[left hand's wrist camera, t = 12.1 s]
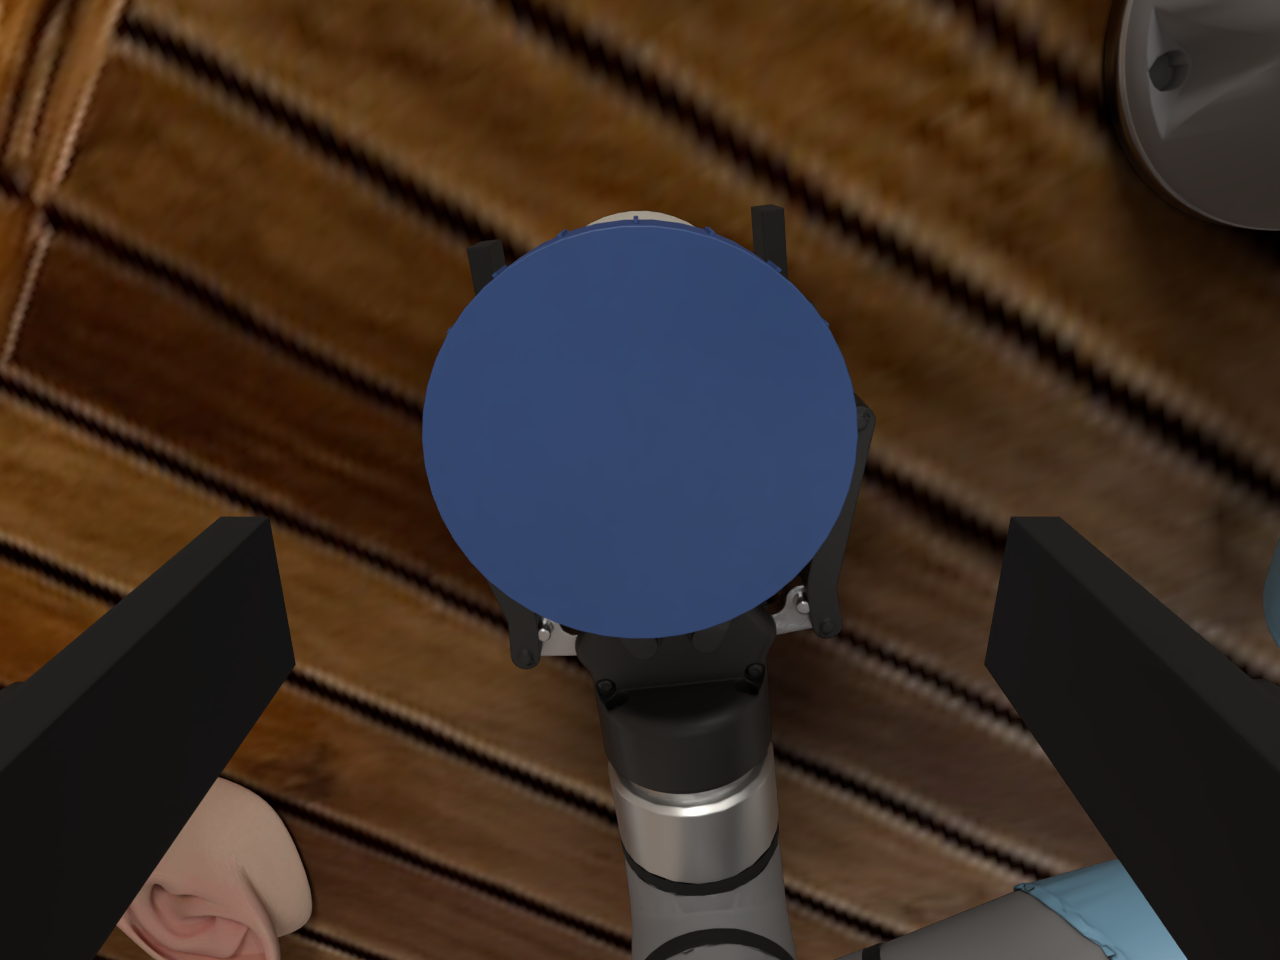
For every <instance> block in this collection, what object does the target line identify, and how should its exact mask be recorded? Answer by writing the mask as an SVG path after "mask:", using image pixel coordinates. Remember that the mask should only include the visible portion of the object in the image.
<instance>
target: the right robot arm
mask: <svg viewBox="0 0 1280 960" xmlns="http://www.w3.org/2000/svg"><path fill="white" fill-rule="evenodd" d="M751 214H752V229H753V243H754V254H755V255H757V256H758V257H760V258H761V259H762V260H764V261H765V262H766V263H767V261H768V260H770V261H771V262H772V263H774V264H775V265H776V266H778V267H779V268H780V269H781V272H780V274H781V275H782V276H783V277H785V278H786V279H787V280H788V275H787V257H786V239H785V221H784V208H782V207H779V206H775V205H772V204H771V205H763V206H755V207H751ZM467 253H468V258H469V264H470V269H471V274H472V279H473V284H474V289H475V295H476V296H477V294H478V293H479V292H480V291H481V290H482V289H483V288H484V287H485V286H486V285H487V284H488V283H489V282H491V281H492V280H493V279H494V277H493V276H492V275H493V274H494V273H495V272H496V271H498V270H499V269H500V268H502V267H503V266H504V265H506V264H505V258H504V253H503V247H502V241H501V239H498V240H490V241H482V242H479V243H477V244H475V245H473V246H471V247H469V248H467ZM805 298H806V297H805ZM806 299H807V298H806ZM807 300H808V301H809V302H810V303H811V304H812V305H813V306H814V304H813V303H812V302H811V301H810V300H809V299H807ZM814 308H815V306H814ZM815 309H816V308H815ZM816 311H817V310H816ZM854 397H855V403H856V408H857V427H858V441H857V452H856V463H855V467H854V472H853V476H852V480H851V484H850V489H849V492H848V494H847V497H846V499H845V502H844V505H843V507H842V510H841V513H840V515H839V517H838V519H837V520H836V522H835V524H834V526H833V528H832V530H831V532H830V533H829V535H828V537H827V539H826V540H825V541H824V543H823V544H822V546H821V547H820V548H819V550H818V551H817V553H816V554H815V555H814V557H813V558H812V559H811V560H810V562H809V563H808V564H807V565H806V566H805V567H804V568H803V569H802V570H801V571H800V572H799V573H798V575H797V576H796V577H795V578H794V579H792V580H791V581H790V582H789V583H788V584H787V585H785V586H784V587H783V590H782V595H781V597H780V598H779V599H778V600H777V601H776V602H774V603H772V604H768V603H767V602H766V601H764V602H763V603H761V604H759V605H758V606H756V607H755V608H753V609H752V610H750V611H748V612H746V613H744V614H742V615H740V616H738V617H736V618H734V619H732V620H730V621H727V622H724V623H721V624H718V625H716V626H713V627H710V628H707V629H704V630H700V631H696V632H692V633H687V634H683V635H678V636H670V637H661V638H619V637H610V636H602V635H597V634H593V633H588V632H584V631H579V630H576V629H573V628H570V627H567V626H564V625H561V624H559V623H556V622H553V621H551V620H549V619H547V618H545V617H543V616H541V615H538V614H536V613H534V612H532V611H530V610H529V609H527V608H525V607H524V606H522V605H521V604H519V603H518V602H516V601H514V600H513V599H511V598H510V597H508V596H507V595H506V594H504V593H503V592H502V591H501V590H500V589H498V588H497V587H496V586H495V585H493V584H492V583H491V582H490V581H489V580H487V578H486V577H485V578H486V580H487V582H488V584H489V586H490V588H491V590H492V591H493V593H494V595H495V597H496V599H497V601H498V603H499V605H500V607H501V609H502V611H503V613H504V615H505V617H506V619H507V621H508V627H509V638H510V650H511V658H512V661H513V663H514V664H515V665H516V666H517V667H519V668H521V669H531V668H533V667H535V666H537V664H538V663H539V661H540V656H568V655H577V657H578V659H579V660H580V662H581V663H582V664H583V665H584V666H585V667H586V668H587V670H588V671H589V673H590V674H591V677H592V679H593V683H594V688H595V694H596V700H597V706H598V712H599V718H600V724H601V729H602V735H603V741H604V747H605V752H606V755H607V757H608V760H609V761H608V772H609V777H610V783H611V788H612V793H613V799H614V804H615V810H616V815H617V820H618V826H619V831H620V839H621V843H622V847H623V851H624V856H625V864H626V872H627V879H628V887H629V894H630V902H631V914H632V960H797V956H796V951H795V946H794V941H793V936H792V931H791V926H790V921H789V916H788V910H787V904H786V897H785V889H784V880H783V871H782V862H781V854H780V845H779V836H778V834H779V826H778V816H779V811H778V799H777V788H776V776H775V765H774V753H773V745H772V743H771V737H772V726H771V713H770V701H769V688H768V675H767V656H768V652H769V650H770V648H771V646H772V644H773V642H774V641H775V638H776V635H779V634H784V633H789V632H794V631H799V630H804V629H809V628H813V630H814V633H815V634H816V635H817V636H819V637H821V638H831V637H834V636H836V635H837V634H838V633H839V632H840V630H841V628H842V619H841V613H840V607H839V601H838V594H837V588H836V587H837V583H838V578H839V574H840V570H841V566H842V562H843V557H844V553H845V549H846V545H847V541H848V536H849V532H850V528H851V524H852V520H853V515H854V511H855V507H856V503H857V499H858V494H859V490H860V486H861V482H862V478H863V473H864V469H865V465H866V461H867V457H868V452H869V448H870V444H871V440H872V436H873V431H874V427H875V416H874V413H873V412H872V411H871V410H870V409H869V407H868V406H867V405H866V404H865V403H864V402H863V401H862V400H861V399H860V398H859V397H858V396H857V395H856V394H855V393H854ZM834 960H1187V958H1186V957H1185V955H1184V954H1183V952H1182V951H1181V950H1180V948H1179V947H1178V945H1177V944H1176V942H1175V941H1174V939H1173V938H1172V936H1171V935H1170V934H1169V932H1168V931H1167V929H1166V928H1165V926H1164V925H1163V923H1162V922H1161V921H1160V919H1159V918H1158V916H1157V915H1156V913H1155V912H1154V910H1153V909H1152V907H1151V906H1150V905H1149V903H1148V902H1147V900H1146V899H1145V897H1144V896H1143V894H1142V893H1141V891H1140V890H1139V889H1138V887H1137V886H1136V884H1135V883H1134V881H1133V880H1132V878H1131V877H1130V875H1129V874H1128V873H1127V871H1126V870H1125V868H1124V867H1123V865H1122V864H1121V862H1120V861H1119V859H1116V860H1110V861H1106V862H1103V863H1099V864H1096V865H1092V866H1089V867H1085V868H1081V869H1078V870H1074V871H1071V872H1067V873H1064V874H1060V875H1057V876H1053V877H1049V878H1046V879H1042V880H1039V881H1035V882H1032V883H1021V884H1018V885H1016V886H1014V892H1012V893H1009V894H1007V895H1004V896H1002V897H999V898H997V899H994V900H992V901H989V902H987V903H984V904H982V905H979V906H977V907H974V908H972V909H969V910H966V911H964V912H961V913H959V914H956V915H954V916H951V917H949V918H946V919H944V920H941V921H939V922H936V923H934V924H931V925H929V926H926V927H924V928H921V929H919V930H916V931H914V932H911V933H909V934H906V935H904V936H901V937H899V938H896V939H894V940H891V941H889V942H886V943H878V944H876V945H873V946H871V947H868V948H864V949H861V950H859V951H856V952H853V953H851V954H848V955H845V956H843V957H840V958H837V959H834Z"/></svg>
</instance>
